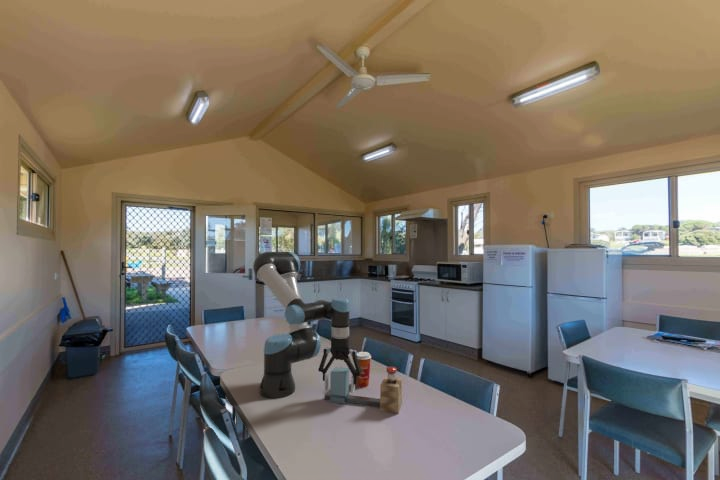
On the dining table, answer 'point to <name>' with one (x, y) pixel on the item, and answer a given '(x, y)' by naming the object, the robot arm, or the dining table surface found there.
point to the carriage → (339, 384)
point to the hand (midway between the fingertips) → (339, 390)
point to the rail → (358, 400)
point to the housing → (391, 396)
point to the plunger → (391, 374)
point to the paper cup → (363, 369)
